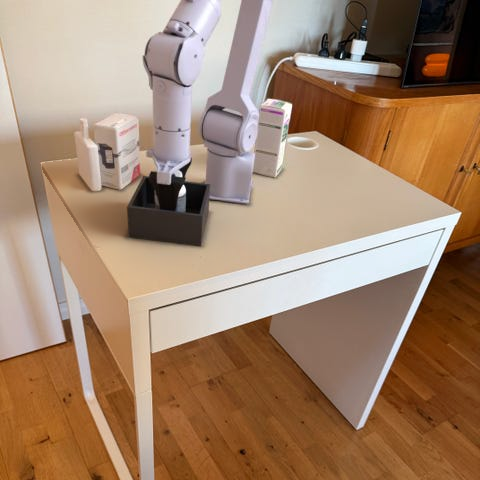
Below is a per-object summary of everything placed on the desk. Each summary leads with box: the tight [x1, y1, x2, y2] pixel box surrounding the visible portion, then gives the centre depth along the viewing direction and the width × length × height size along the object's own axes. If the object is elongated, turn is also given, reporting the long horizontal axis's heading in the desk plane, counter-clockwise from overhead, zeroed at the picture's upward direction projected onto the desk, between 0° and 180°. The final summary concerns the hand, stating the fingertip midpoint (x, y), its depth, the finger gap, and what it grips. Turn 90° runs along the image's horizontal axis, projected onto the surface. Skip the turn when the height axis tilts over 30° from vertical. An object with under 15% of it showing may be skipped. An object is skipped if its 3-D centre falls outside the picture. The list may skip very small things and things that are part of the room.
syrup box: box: [253, 98, 293, 178], centre depth 99 cm, size 6×6×14 cm
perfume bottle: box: [73, 117, 102, 192], centre depth 86 cm, size 8×2×12 cm, turn 32°
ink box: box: [93, 112, 141, 191], centre depth 88 cm, size 8×5×12 cm, turn 162°
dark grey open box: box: [126, 175, 211, 247], centre depth 79 cm, size 12×12×6 cm
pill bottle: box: [155, 170, 186, 213], centre depth 78 cm, size 5×5×9 cm
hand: (171, 206), depth 79 cm, fingers closed on pill bottle, 5 cm apart
